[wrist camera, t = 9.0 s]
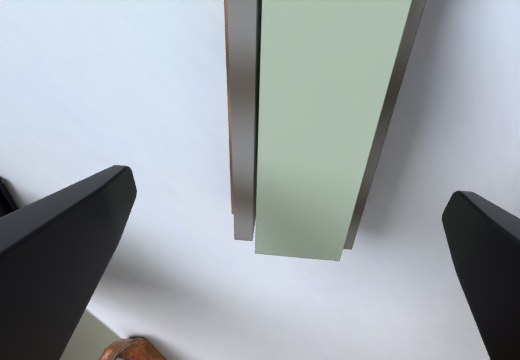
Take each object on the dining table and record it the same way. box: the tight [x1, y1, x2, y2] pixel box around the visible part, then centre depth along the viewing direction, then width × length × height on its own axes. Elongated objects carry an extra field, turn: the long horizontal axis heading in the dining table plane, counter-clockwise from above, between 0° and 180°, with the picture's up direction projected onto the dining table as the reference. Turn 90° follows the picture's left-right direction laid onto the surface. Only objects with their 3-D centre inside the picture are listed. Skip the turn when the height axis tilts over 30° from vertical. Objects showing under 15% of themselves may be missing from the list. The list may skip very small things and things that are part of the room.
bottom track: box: [224, 0, 426, 250], centre depth 16 cm, size 20×9×4 cm, turn 178°
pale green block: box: [255, 0, 412, 261], centre depth 14 cm, size 12×4×7 cm, turn 178°
